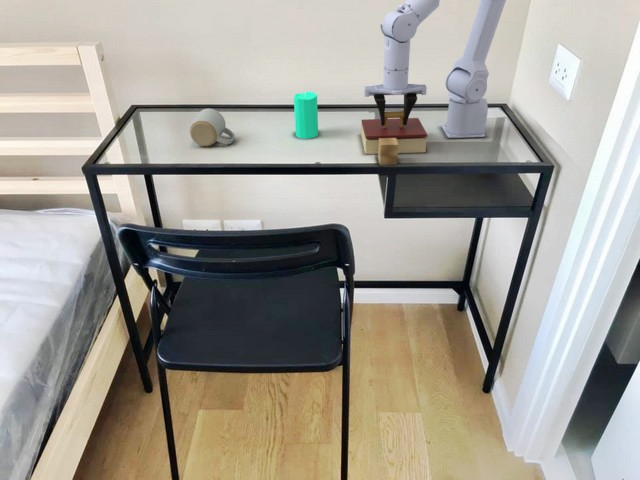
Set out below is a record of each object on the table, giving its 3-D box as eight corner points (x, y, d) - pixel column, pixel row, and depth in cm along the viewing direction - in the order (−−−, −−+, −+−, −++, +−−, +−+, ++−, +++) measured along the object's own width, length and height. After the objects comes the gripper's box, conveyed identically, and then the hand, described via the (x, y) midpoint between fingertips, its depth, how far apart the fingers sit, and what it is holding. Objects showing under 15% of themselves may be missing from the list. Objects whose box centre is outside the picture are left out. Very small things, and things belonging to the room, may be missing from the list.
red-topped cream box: (425, 152, 129) (426, 138, 127) (365, 154, 129) (365, 140, 127) (417, 133, 139) (418, 120, 137) (361, 135, 139) (361, 122, 137)
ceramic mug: (190, 147, 135) (185, 118, 131) (199, 135, 142) (195, 107, 137) (231, 149, 134) (228, 119, 130) (238, 136, 141) (235, 108, 137)
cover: (427, 137, 126) (428, 117, 124) (365, 139, 126) (366, 119, 124) (418, 120, 137) (419, 102, 135) (361, 122, 137) (361, 104, 135)
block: (394, 157, 127) (395, 137, 124) (397, 164, 123) (398, 144, 121) (378, 158, 127) (378, 138, 124) (379, 165, 123) (380, 144, 121)
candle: (319, 130, 143) (318, 85, 136) (317, 138, 138) (315, 93, 131) (297, 130, 143) (295, 85, 137) (294, 138, 138) (291, 92, 132)
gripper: (366, 73, 120) (365, 130, 127) (430, 71, 120) (426, 129, 127) (363, 65, 126) (362, 120, 133) (425, 63, 126) (420, 118, 133)
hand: (393, 124), depth 130 cm, fingers closed on cover, 5 cm apart
